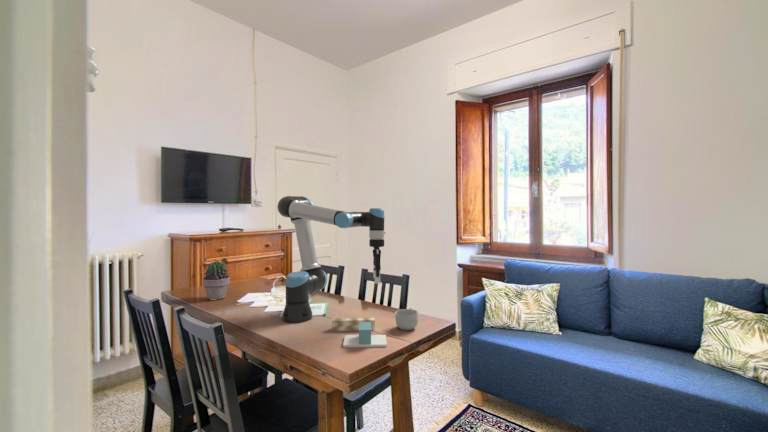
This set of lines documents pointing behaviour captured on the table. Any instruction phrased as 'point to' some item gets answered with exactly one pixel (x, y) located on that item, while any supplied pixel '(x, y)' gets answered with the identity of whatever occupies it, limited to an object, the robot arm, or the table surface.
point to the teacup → (406, 319)
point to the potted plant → (216, 280)
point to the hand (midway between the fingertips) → (376, 280)
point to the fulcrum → (365, 338)
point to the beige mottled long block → (350, 323)
